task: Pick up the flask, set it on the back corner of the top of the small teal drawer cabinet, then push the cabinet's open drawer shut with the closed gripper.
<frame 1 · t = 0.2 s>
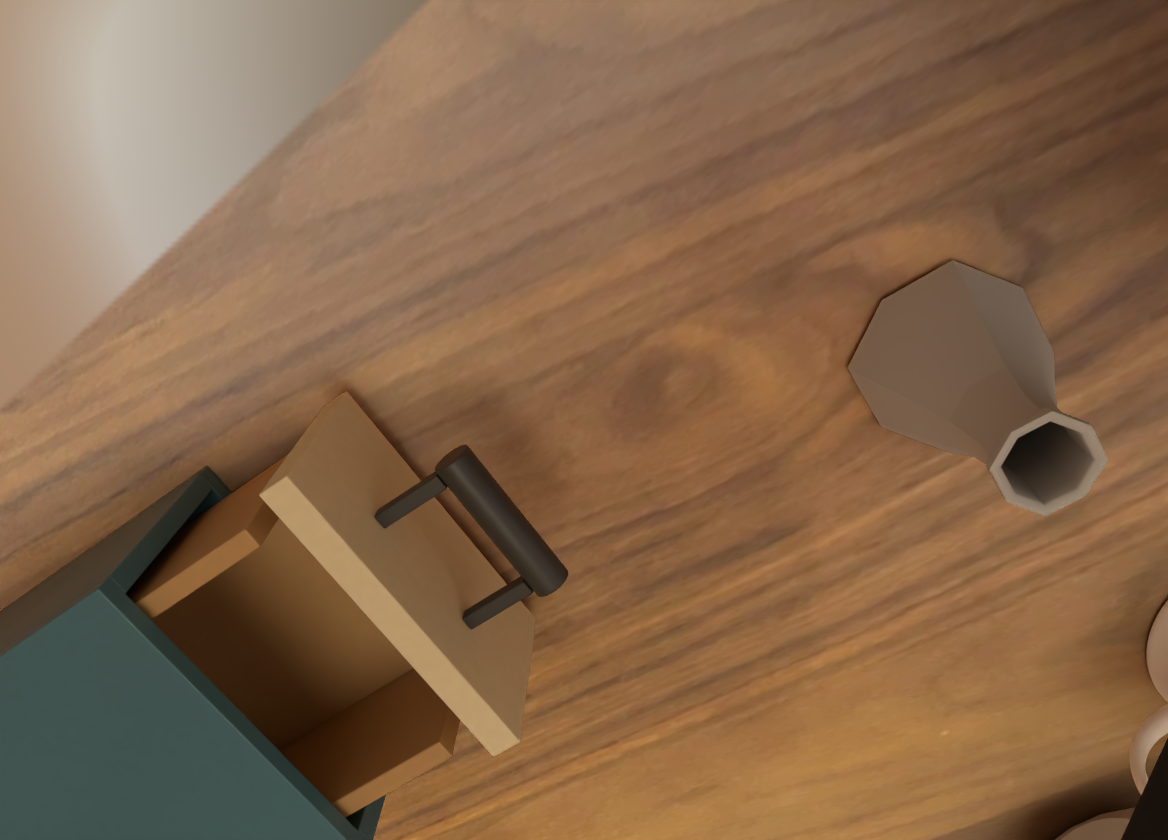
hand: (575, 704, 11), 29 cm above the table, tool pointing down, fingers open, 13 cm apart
flask: (946, 355, 40), on the table
drawer: (332, 618, 39), point 5 cm above the table, slide at 6.0 cm
cabinet: (191, 666, 46), on the table
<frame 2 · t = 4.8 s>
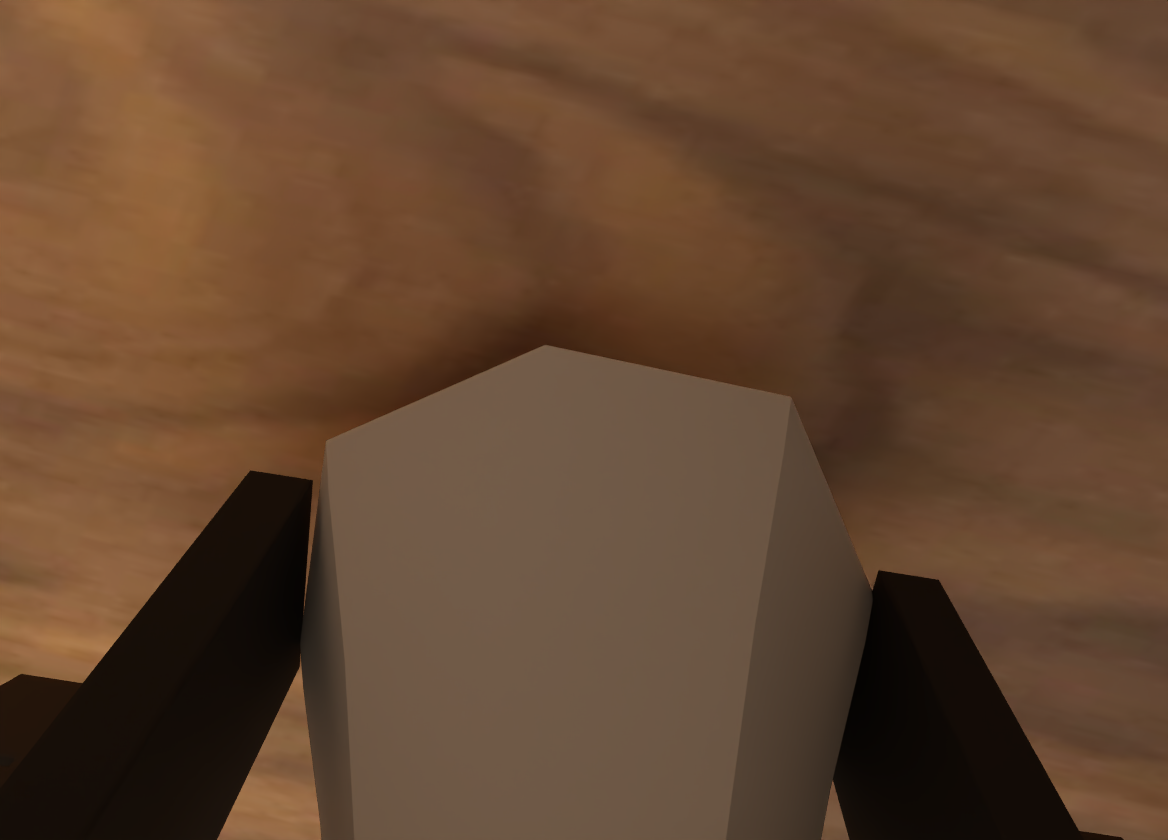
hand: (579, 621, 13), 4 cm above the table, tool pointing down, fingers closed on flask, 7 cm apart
flask: (582, 598, 13), point 3 cm above the table, touching gripper
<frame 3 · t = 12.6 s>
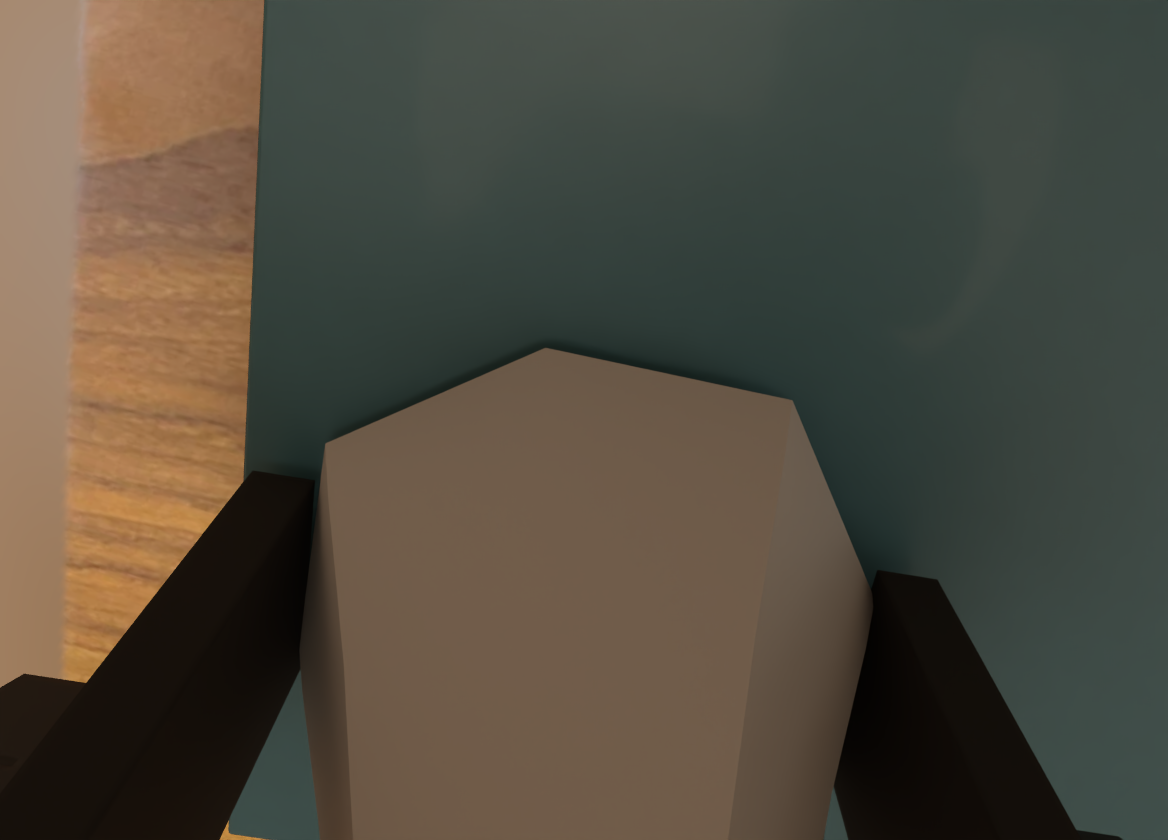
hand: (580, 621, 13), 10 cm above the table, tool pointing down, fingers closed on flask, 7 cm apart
flask: (582, 602, 13), point 10 cm above the table, touching gripper
cabinet: (744, 295, 22), on the table
when the fingers open (11 cm above the table, at t = 16.8 s): flask stays where it is, resting on cabinet.
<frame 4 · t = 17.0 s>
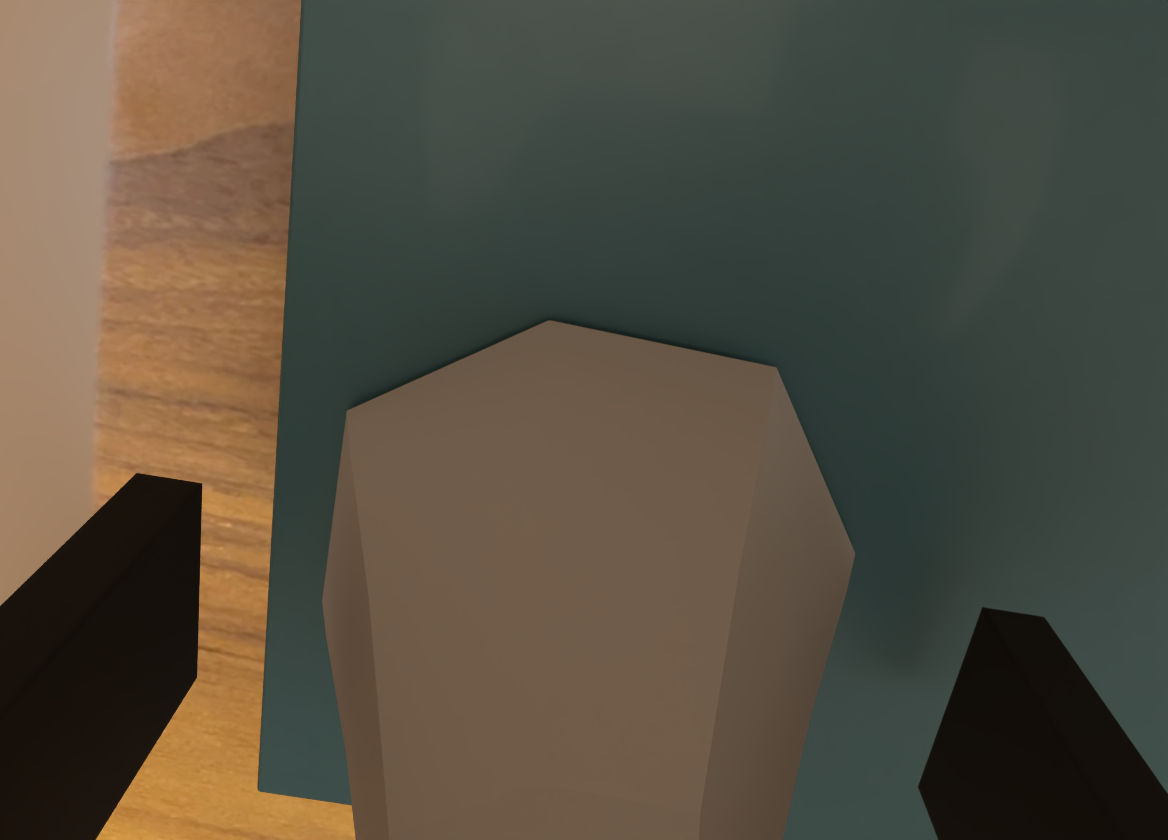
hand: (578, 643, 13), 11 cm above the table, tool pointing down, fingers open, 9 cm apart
flask: (584, 559, 14), point 9 cm above the table, touching cabinet
cabinet: (747, 286, 22), on the table
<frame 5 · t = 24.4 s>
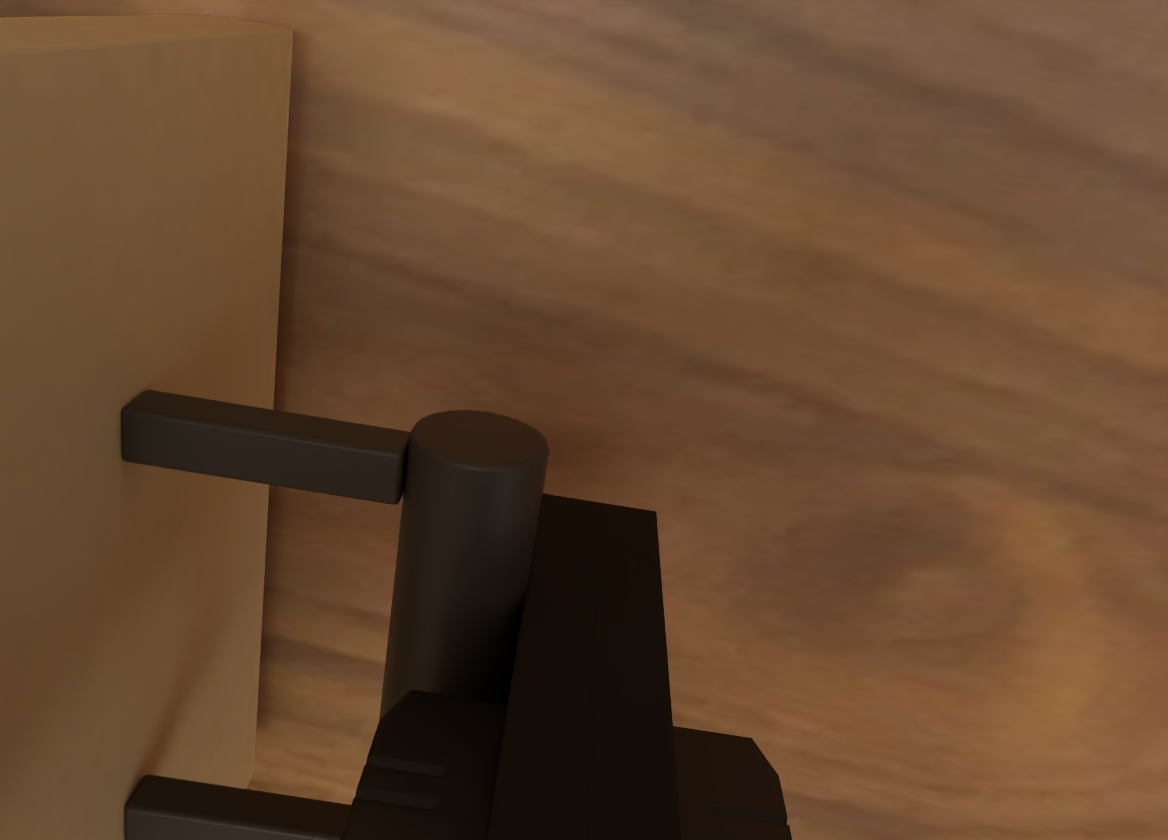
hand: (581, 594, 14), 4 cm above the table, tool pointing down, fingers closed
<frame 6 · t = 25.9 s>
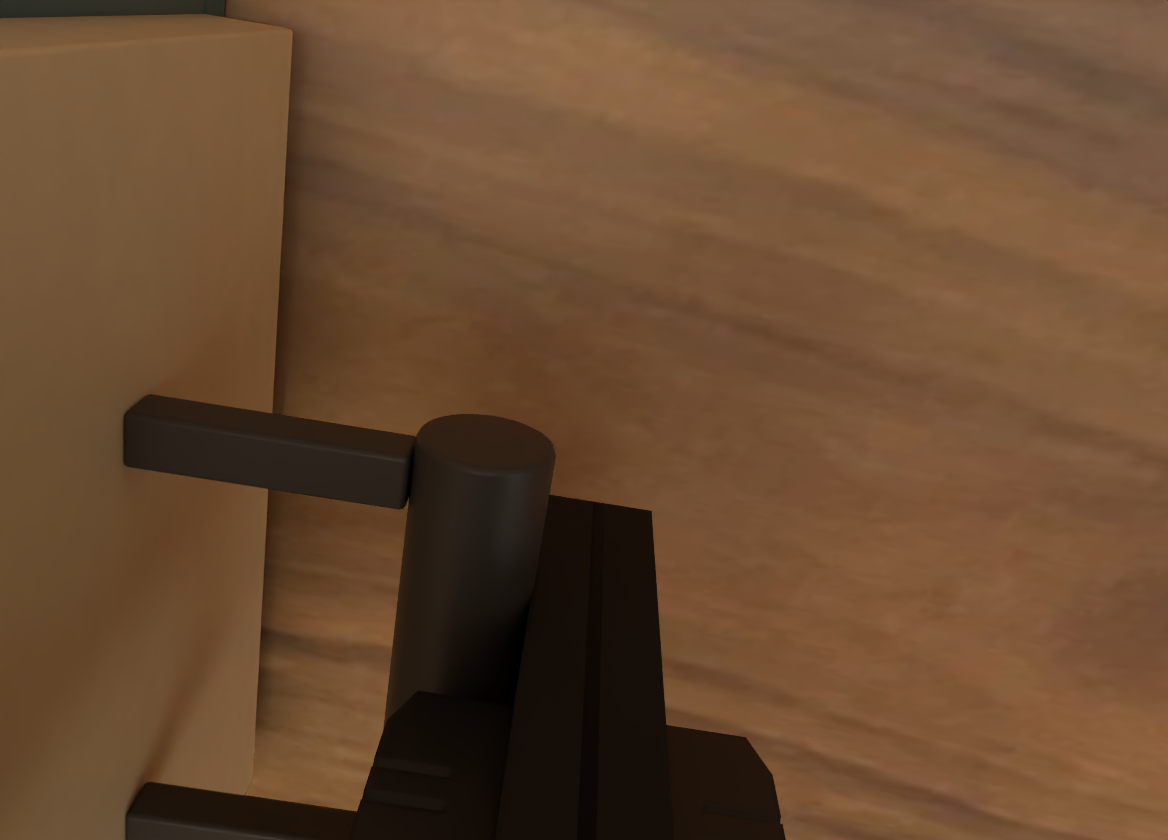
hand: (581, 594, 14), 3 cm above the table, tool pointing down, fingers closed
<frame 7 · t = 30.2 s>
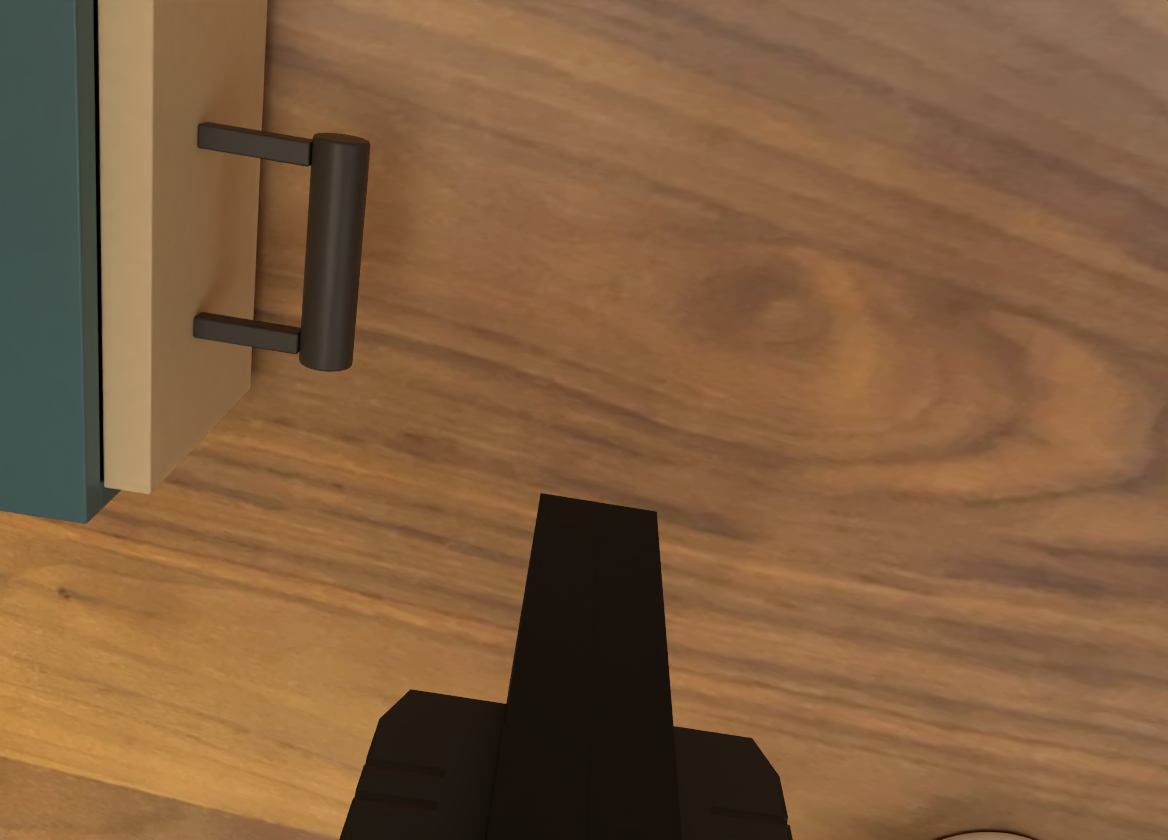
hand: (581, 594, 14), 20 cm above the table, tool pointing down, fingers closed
drawer: (37, 196, 28), point 5 cm above the table, slide at 0.0 cm, touching cabinet
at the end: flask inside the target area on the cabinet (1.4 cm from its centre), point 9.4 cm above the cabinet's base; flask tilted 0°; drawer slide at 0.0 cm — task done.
